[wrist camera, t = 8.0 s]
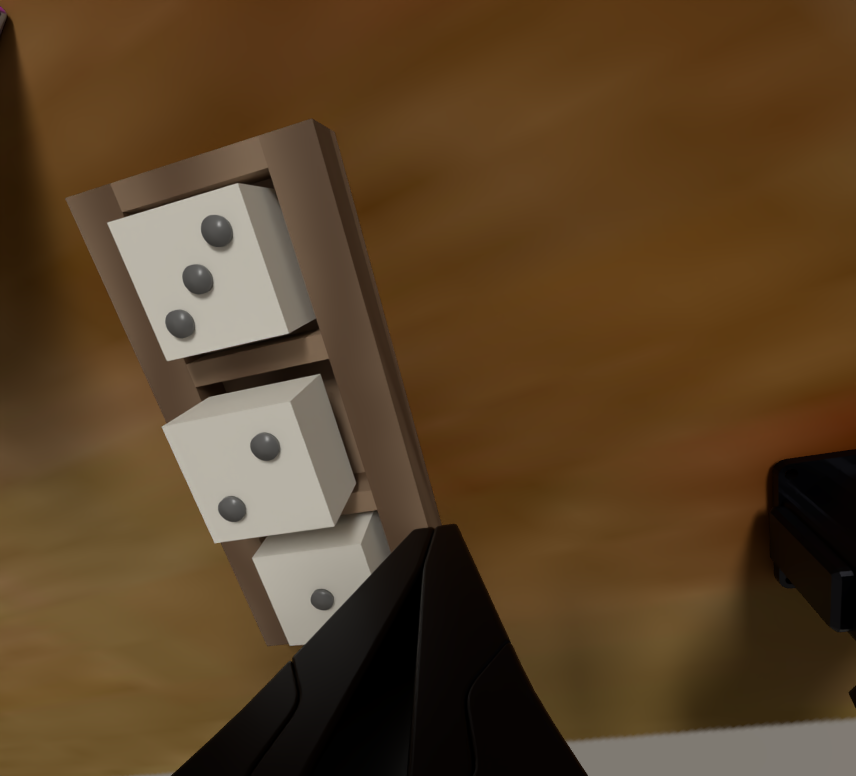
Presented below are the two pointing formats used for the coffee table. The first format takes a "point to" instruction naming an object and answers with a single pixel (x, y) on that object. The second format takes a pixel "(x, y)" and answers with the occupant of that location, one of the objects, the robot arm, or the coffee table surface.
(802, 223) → the coffee table surface
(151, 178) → the brown dotted block frame
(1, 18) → the candy bar box
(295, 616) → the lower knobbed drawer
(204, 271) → the three pip tile
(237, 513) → the two pip tile
